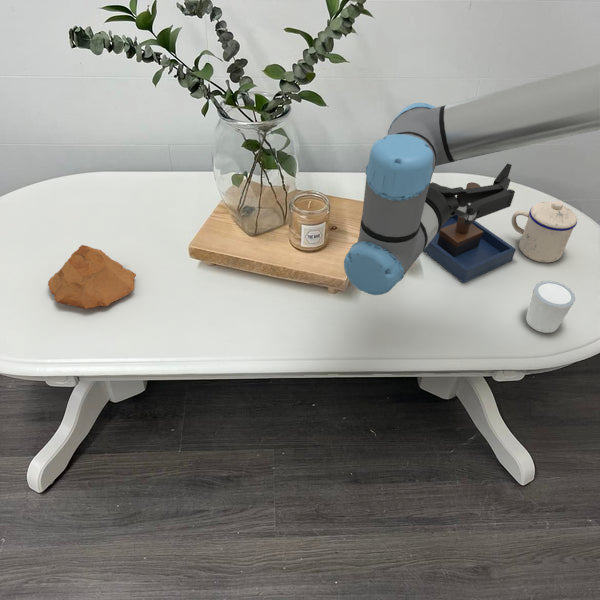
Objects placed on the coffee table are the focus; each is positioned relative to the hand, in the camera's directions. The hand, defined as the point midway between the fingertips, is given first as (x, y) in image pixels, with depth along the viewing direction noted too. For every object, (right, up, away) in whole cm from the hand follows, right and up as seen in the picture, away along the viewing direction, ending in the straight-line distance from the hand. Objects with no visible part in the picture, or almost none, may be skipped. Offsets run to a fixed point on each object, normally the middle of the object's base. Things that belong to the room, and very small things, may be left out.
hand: (467, 159), depth 96 cm
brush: (+5, -12, +22) cm, 26 cm away
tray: (+5, -13, +23) cm, 27 cm away
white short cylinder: (+16, -28, +8) cm, 33 cm away
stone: (-67, -21, +11) cm, 71 cm away
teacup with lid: (+21, -13, +24) cm, 34 cm away
